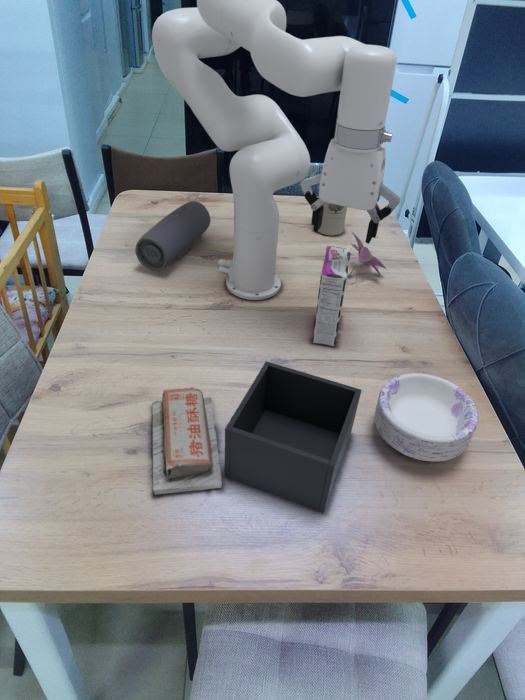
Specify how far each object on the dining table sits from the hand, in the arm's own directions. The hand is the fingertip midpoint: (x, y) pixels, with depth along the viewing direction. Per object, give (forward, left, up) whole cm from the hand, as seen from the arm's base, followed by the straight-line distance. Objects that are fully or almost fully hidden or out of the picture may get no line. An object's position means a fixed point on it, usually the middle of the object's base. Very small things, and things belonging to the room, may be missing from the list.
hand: (342, 234), depth 91 cm
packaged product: (-12, -39, -22) cm, 46 cm away
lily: (+2, +26, -22) cm, 34 cm away
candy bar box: (0, 0, -22) cm, 22 cm away
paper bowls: (+22, -22, -22) cm, 38 cm away
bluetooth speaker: (-43, +14, -22) cm, 51 cm away
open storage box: (+4, -34, -22) cm, 40 cm away
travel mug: (-12, +45, -22) cm, 52 cm away
